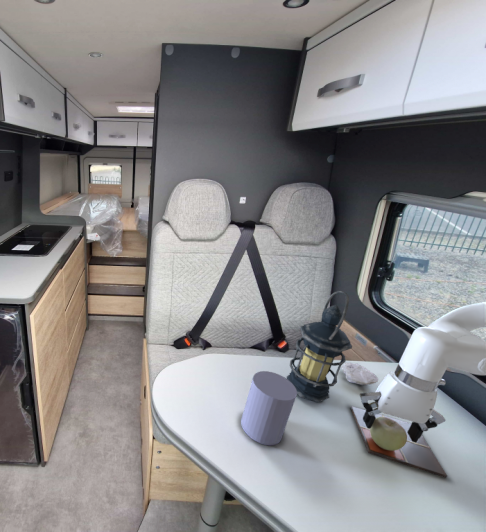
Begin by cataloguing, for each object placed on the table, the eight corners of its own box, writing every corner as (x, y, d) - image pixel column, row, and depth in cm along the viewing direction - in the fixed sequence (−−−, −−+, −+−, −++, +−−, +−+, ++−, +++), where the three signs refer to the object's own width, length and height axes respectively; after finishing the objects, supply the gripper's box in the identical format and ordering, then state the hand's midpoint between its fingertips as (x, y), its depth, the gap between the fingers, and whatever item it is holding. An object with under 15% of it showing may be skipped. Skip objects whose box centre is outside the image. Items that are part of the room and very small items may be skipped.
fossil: (354, 383, 99) (342, 355, 107) (346, 392, 104) (334, 365, 111) (383, 385, 98) (369, 357, 106) (374, 394, 103) (360, 366, 110)
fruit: (406, 460, 76) (419, 437, 73) (372, 450, 78) (383, 427, 75) (392, 435, 83) (403, 413, 80) (361, 427, 85) (371, 405, 82)
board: (414, 427, 88) (415, 424, 87) (445, 478, 74) (447, 475, 73) (350, 408, 93) (351, 405, 92) (368, 453, 78) (369, 450, 78)
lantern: (280, 371, 106) (309, 279, 94) (323, 383, 103) (359, 288, 90) (285, 400, 94) (320, 297, 81) (334, 414, 90) (378, 309, 78)
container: (238, 435, 80) (250, 389, 75) (243, 408, 89) (254, 366, 84) (281, 453, 76) (297, 406, 71) (281, 423, 85) (296, 380, 80)
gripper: (452, 378, 74) (422, 431, 80) (367, 358, 79) (346, 409, 85) (471, 400, 67) (438, 456, 73) (378, 376, 72) (354, 430, 78)
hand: (388, 430), depth 79 cm, fingers open, 9 cm apart
